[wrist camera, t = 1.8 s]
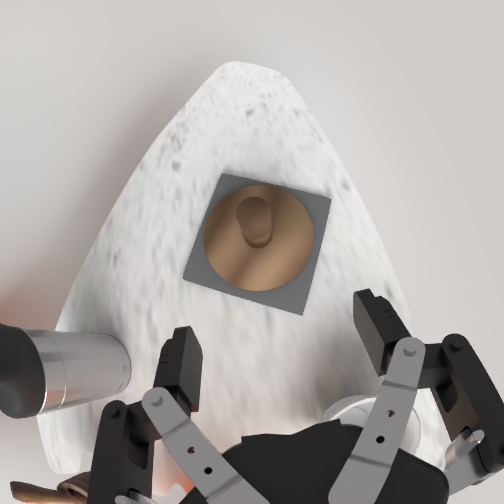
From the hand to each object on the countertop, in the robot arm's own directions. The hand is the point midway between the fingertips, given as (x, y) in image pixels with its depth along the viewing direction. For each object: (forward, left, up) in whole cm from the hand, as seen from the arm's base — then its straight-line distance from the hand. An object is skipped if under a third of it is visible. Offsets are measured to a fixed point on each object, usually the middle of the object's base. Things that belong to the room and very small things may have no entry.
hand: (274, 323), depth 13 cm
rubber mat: (-5, +10, -22) cm, 25 cm away
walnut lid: (-5, +10, -21) cm, 24 cm away
